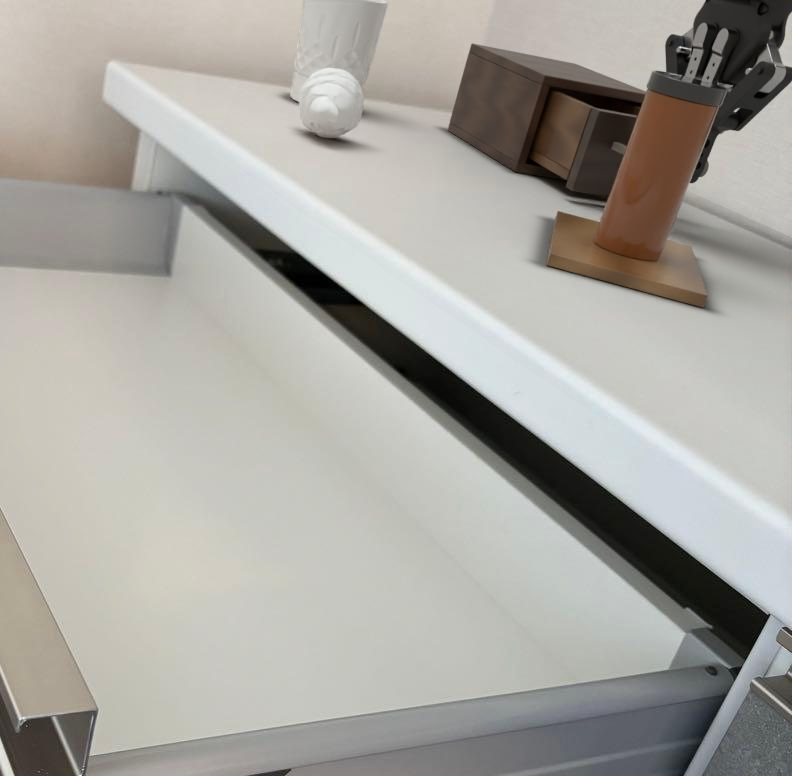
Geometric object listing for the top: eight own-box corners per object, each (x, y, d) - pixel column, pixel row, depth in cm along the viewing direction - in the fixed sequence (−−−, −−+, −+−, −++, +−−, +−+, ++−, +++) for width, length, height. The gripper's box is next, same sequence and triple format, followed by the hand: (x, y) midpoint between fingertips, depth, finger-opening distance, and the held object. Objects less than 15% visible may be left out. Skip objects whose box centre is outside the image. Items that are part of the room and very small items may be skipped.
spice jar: (659, 250, 77) (724, 85, 71) (662, 267, 72) (731, 92, 67) (591, 232, 77) (650, 67, 72) (591, 247, 73) (653, 74, 68)
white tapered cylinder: (269, 95, 106) (291, -19, 101) (308, 92, 112) (330, -15, 107) (340, 117, 103) (366, 1, 98) (375, 113, 109) (401, 4, 104)
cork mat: (687, 256, 81) (691, 246, 80) (702, 307, 69) (708, 295, 68) (554, 221, 82) (557, 210, 82) (546, 265, 70) (550, 253, 70)
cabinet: (626, 189, 100) (660, 96, 96) (514, 172, 96) (544, 74, 92) (548, 147, 113) (575, 63, 108) (447, 130, 109) (471, 43, 105)
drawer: (708, 223, 89) (740, 143, 85) (598, 206, 85) (627, 123, 82) (594, 162, 104) (618, 93, 101) (497, 146, 101) (518, 74, 98)
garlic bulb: (288, 139, 89) (302, 68, 86) (293, 126, 94) (307, 59, 91) (353, 153, 89) (370, 83, 86) (355, 140, 94) (370, 73, 91)
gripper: (678, -92, 80) (594, 151, 89) (795, -77, 69) (687, 197, 78) (761, -71, 82) (672, 164, 91) (887, -53, 71) (772, 211, 80)
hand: (679, 179), depth 84 cm, fingers closed
